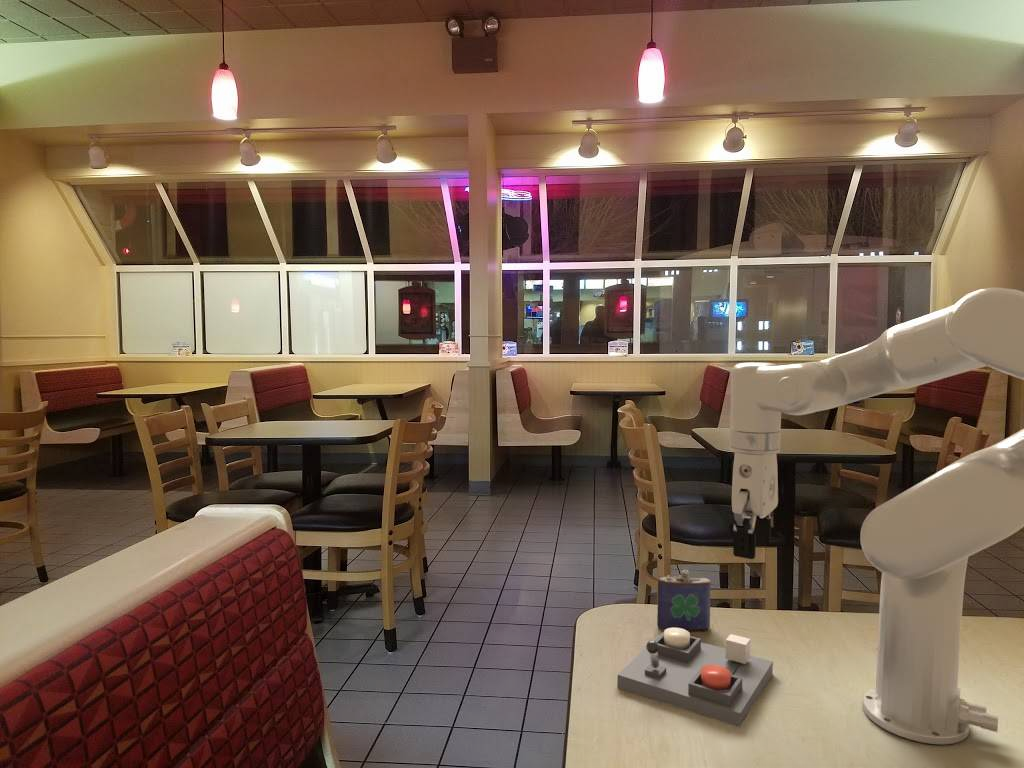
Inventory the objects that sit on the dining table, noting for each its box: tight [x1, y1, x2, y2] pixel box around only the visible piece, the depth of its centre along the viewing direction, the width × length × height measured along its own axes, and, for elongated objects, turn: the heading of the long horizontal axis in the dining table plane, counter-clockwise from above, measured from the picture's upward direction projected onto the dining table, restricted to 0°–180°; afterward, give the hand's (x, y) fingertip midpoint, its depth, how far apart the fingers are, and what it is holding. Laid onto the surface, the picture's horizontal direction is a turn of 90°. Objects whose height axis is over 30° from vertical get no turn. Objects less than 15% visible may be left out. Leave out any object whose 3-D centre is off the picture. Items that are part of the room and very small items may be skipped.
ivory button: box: [663, 628, 691, 649], centre depth 110 cm, size 4×4×2 cm
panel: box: [616, 631, 774, 728], centre depth 104 cm, size 18×17×4 cm
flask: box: [656, 568, 712, 633], centre depth 122 cm, size 9×3×11 cm, turn 88°
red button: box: [701, 665, 731, 690], centre depth 98 cm, size 4×4×2 cm
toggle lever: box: [645, 640, 659, 668], centre depth 102 cm, size 2×2×5 cm
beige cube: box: [725, 633, 751, 664], centre depth 106 cm, size 3×2×3 cm
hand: (752, 548), depth 110 cm, fingers open, 8 cm apart
